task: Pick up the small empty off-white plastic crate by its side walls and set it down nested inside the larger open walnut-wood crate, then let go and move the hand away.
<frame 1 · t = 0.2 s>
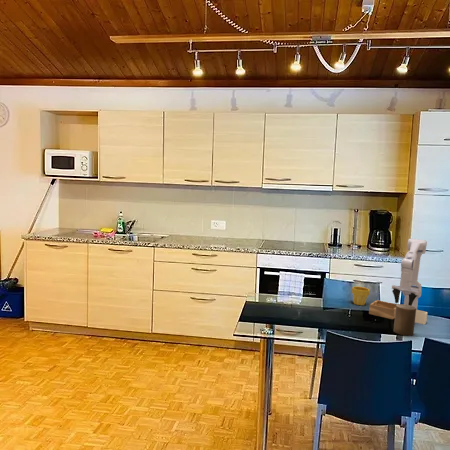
hand: (403, 304, 256), 10 cm above the table, tool pointing down, fingers open, 7 cm apart
plant pot: (359, 304, 288), on the table
big crate: (384, 313, 270), on the table
pillar candle: (403, 332, 239), on the table
small crate: (418, 322, 259), on the table
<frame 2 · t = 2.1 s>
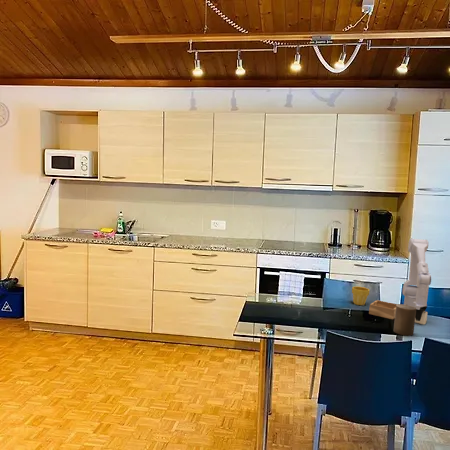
hand: (418, 319, 259), 1 cm above the table, tool pointing down, fingers closed on small crate, 5 cm apart
small crate: (418, 321, 259), on the table, touching gripper
everything else where it was.
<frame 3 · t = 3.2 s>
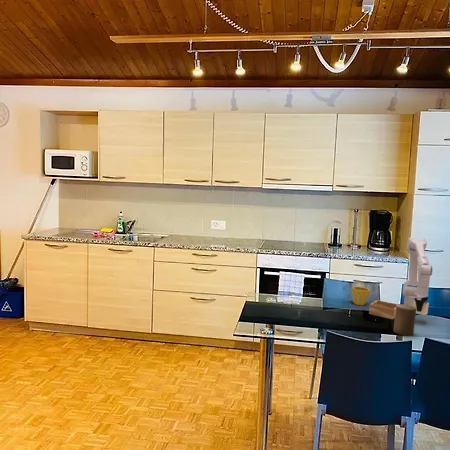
hand: (420, 310, 259), 7 cm above the table, tool pointing down, fingers closed on small crate, 5 cm apart
small crate: (419, 312, 259), point 5 cm above the table, touching gripper
everything else where it was.
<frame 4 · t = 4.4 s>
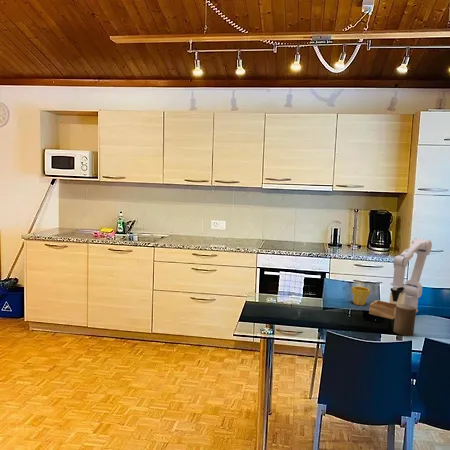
hand: (396, 300, 266), 9 cm above the table, tool pointing down, fingers closed on small crate, 5 cm apart
small crate: (396, 303, 266), point 8 cm above the table, touching gripper
everything else where it was.
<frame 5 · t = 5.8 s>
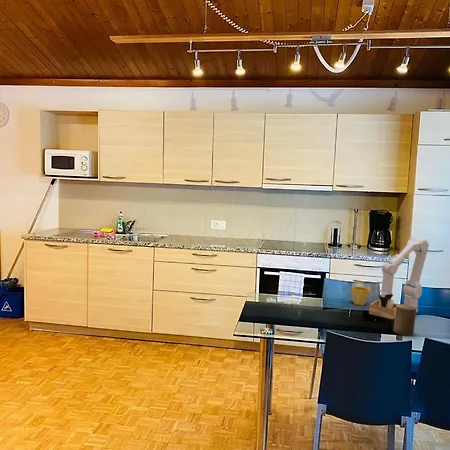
hand: (384, 306, 270), 4 cm above the table, tool pointing down, fingers closed on small crate, 5 cm apart
small crate: (385, 309, 269), point 3 cm above the table, touching gripper
everything else where it was.
when the fingers open (4 cm above the table, at t = 6.8 s): small crate drops 1 cm, resting on big crate.
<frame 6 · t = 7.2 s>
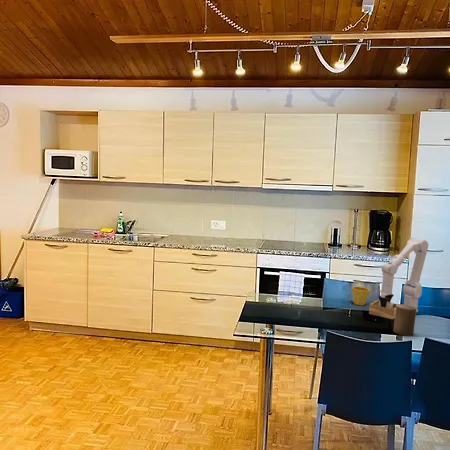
hand: (384, 307, 270), 4 cm above the table, tool pointing down, fingers open, 7 cm apart
small crate: (385, 312, 270), point 1 cm above the table, touching big crate
everything else where it was.
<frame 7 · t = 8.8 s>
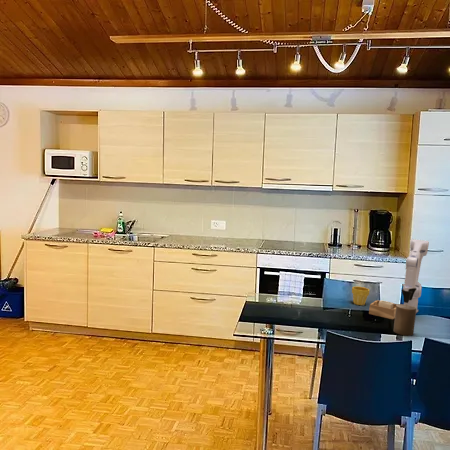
hand: (407, 301, 266), 9 cm above the table, tool pointing down, fingers open, 7 cm apart
nothing on the table moved.
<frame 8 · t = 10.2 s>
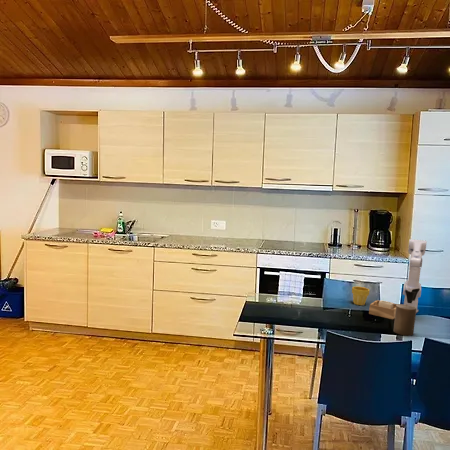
hand: (411, 301, 265), 9 cm above the table, tool pointing down, fingers open, 7 cm apart
nothing on the table moved.
at the end: small crate inside the target area on the big crate (0.5 cm from its centre), point 1.0 cm above the big crate's base; small crate tilted 0°; the gripper is holding nothing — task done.
